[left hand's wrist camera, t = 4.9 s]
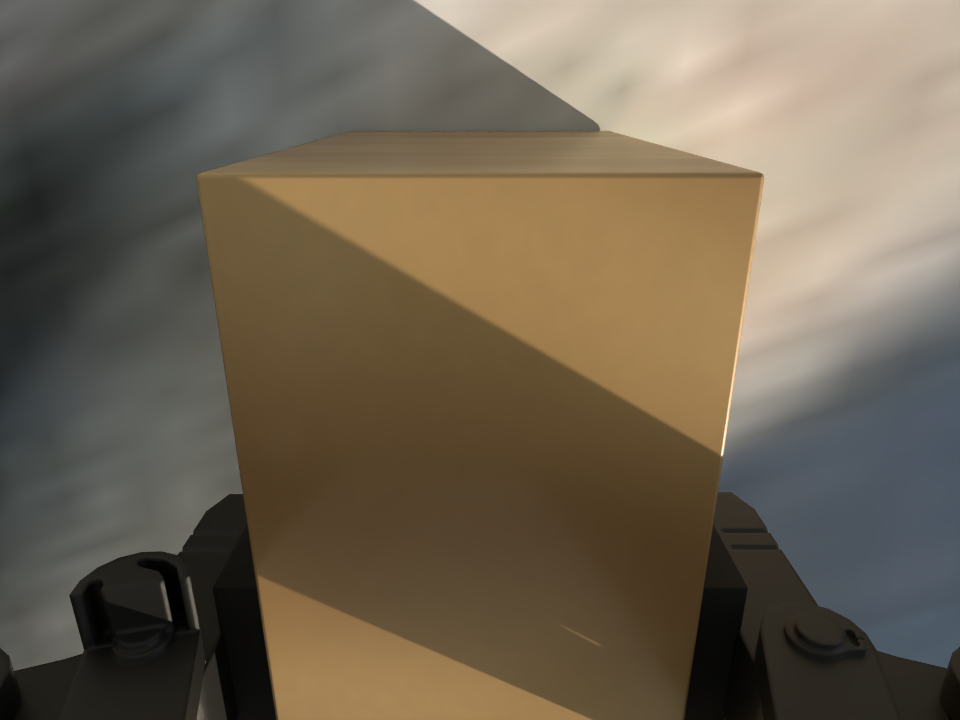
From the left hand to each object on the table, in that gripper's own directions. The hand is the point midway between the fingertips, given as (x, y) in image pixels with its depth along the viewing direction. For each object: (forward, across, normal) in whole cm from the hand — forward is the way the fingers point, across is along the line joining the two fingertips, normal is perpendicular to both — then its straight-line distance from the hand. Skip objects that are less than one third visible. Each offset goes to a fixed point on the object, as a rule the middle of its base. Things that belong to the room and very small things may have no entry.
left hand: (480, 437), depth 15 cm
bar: (+1, 0, -22) cm, 22 cm away
